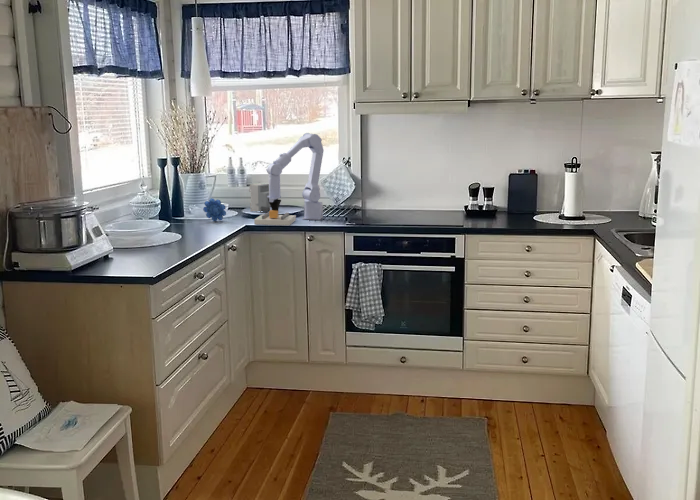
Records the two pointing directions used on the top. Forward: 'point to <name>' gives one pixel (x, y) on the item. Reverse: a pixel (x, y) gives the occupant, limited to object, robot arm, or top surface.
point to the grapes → (214, 209)
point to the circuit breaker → (259, 197)
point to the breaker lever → (273, 214)
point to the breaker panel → (275, 219)
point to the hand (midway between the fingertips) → (275, 213)
